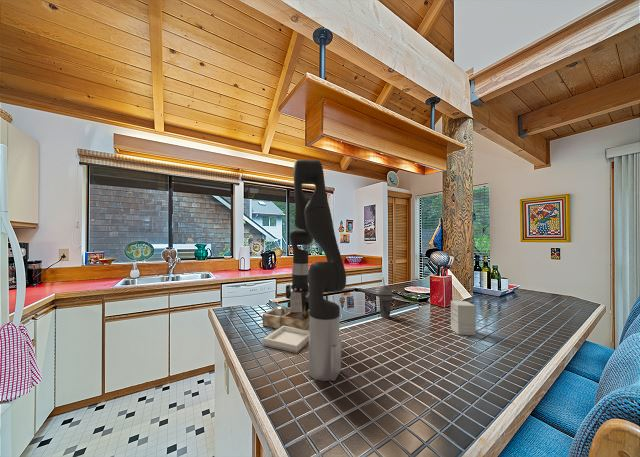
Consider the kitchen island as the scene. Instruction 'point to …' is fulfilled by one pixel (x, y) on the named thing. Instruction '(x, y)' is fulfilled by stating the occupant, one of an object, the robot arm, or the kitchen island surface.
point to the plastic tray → (287, 339)
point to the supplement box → (463, 317)
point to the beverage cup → (385, 301)
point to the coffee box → (298, 305)
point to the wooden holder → (284, 320)
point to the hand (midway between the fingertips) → (299, 309)
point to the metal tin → (280, 310)
